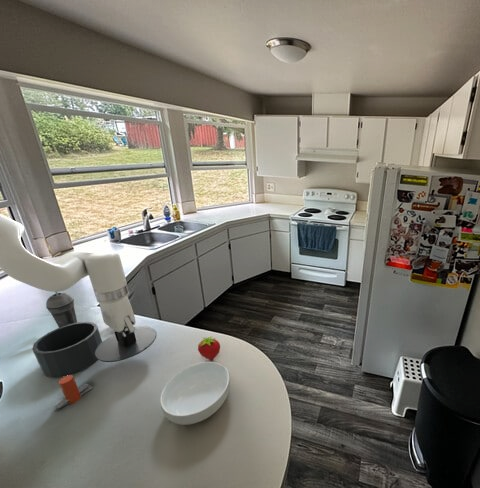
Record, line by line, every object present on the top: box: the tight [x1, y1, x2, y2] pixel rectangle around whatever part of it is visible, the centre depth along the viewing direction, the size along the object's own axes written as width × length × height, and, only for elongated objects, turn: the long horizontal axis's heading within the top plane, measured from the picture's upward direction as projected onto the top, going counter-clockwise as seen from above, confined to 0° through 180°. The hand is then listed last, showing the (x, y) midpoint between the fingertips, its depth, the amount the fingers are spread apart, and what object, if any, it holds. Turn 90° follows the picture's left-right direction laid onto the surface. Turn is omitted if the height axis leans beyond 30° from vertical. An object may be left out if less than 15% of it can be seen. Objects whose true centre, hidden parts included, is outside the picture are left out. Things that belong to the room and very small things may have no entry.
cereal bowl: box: [159, 361, 231, 426], centre depth 69 cm, size 17×17×7 cm
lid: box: [95, 325, 157, 363], centre depth 79 cm, size 16×16×6 cm
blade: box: [53, 374, 93, 411], centre depth 69 cm, size 8×3×8 cm, turn 151°
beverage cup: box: [45, 292, 78, 328], centre depth 93 cm, size 7×7×20 cm
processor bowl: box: [31, 321, 103, 379], centre depth 81 cm, size 15×15×10 cm
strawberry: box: [197, 335, 221, 361], centre depth 83 cm, size 6×8×10 cm
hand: (127, 341), depth 80 cm, fingers closed on lid, 3 cm apart
